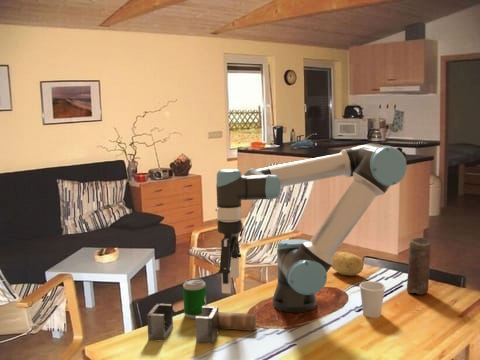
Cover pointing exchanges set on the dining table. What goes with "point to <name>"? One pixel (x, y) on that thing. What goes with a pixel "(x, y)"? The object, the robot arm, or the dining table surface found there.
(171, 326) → the bracket
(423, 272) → the candle
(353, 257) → the potato
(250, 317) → the brown wooden log
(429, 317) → the dining table surface
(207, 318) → the bracket
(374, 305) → the dixie cup
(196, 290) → the soda can
